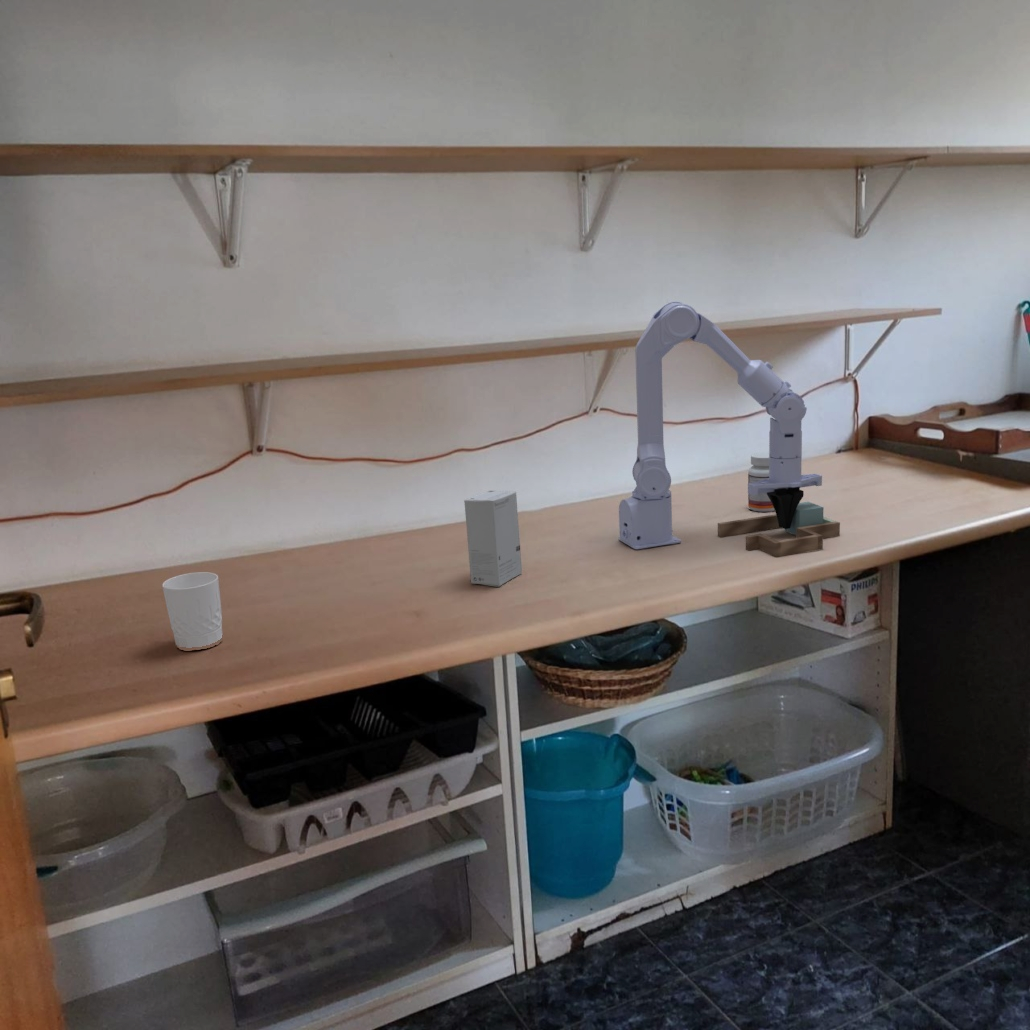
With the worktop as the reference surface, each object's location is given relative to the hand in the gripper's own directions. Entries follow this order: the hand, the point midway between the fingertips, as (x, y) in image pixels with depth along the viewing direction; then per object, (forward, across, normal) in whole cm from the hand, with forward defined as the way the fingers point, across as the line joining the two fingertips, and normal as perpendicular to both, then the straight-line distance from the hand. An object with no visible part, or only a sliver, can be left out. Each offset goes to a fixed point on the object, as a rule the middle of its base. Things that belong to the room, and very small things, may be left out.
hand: (784, 527), depth 181 cm
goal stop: (+1, +8, 0) cm, 8 cm away
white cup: (+2, -105, -6) cm, 105 cm away
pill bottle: (+2, +7, +18) cm, 20 cm away
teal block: (+1, +4, 0) cm, 4 cm away
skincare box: (+2, -56, +2) cm, 56 cm away
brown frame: (+1, -1, -3) cm, 3 cm away
